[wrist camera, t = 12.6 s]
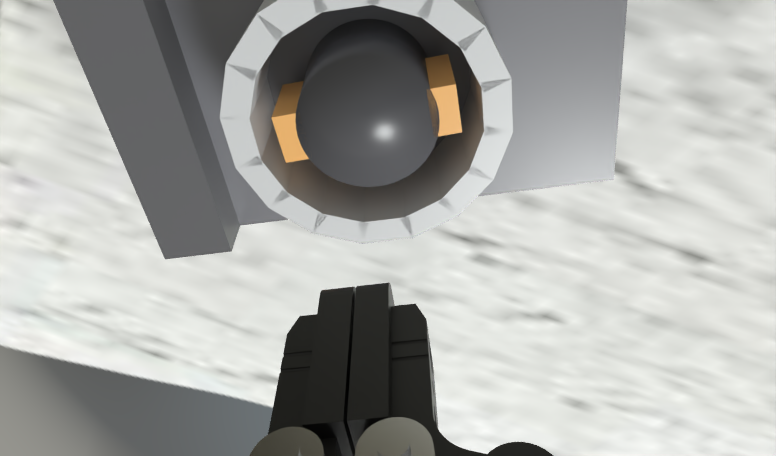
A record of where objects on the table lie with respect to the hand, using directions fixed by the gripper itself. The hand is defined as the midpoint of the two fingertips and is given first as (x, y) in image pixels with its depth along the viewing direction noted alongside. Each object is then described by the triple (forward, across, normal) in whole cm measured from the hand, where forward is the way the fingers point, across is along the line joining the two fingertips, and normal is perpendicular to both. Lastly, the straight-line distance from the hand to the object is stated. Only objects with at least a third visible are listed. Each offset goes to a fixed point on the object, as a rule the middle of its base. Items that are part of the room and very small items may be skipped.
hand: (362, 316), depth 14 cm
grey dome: (+14, 0, 0) cm, 14 cm away
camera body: (+21, 0, 0) cm, 21 cm away
